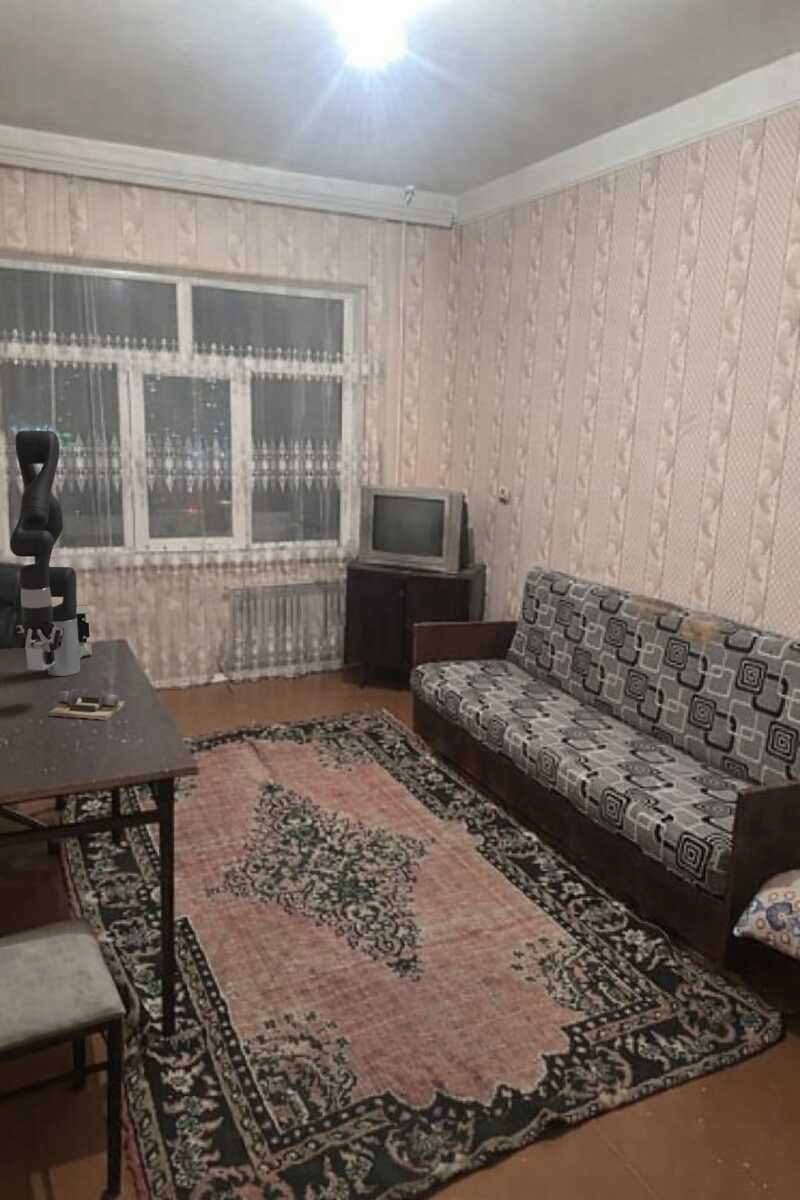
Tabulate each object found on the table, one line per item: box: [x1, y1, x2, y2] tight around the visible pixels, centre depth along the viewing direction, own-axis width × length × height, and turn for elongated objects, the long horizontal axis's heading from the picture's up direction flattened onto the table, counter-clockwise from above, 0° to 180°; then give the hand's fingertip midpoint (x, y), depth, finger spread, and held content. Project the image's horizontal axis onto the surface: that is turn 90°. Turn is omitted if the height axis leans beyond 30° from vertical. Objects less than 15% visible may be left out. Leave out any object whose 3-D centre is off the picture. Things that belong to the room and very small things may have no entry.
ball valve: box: [77, 604, 93, 659], centre depth 276 cm, size 18×8×18 cm, turn 18°
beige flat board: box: [48, 688, 127, 721], centre depth 227 cm, size 12×16×6 cm
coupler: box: [25, 641, 55, 671], centre depth 230 cm, size 6×5×6 cm
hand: (41, 663), depth 230 cm, fingers closed on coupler, 4 cm apart
